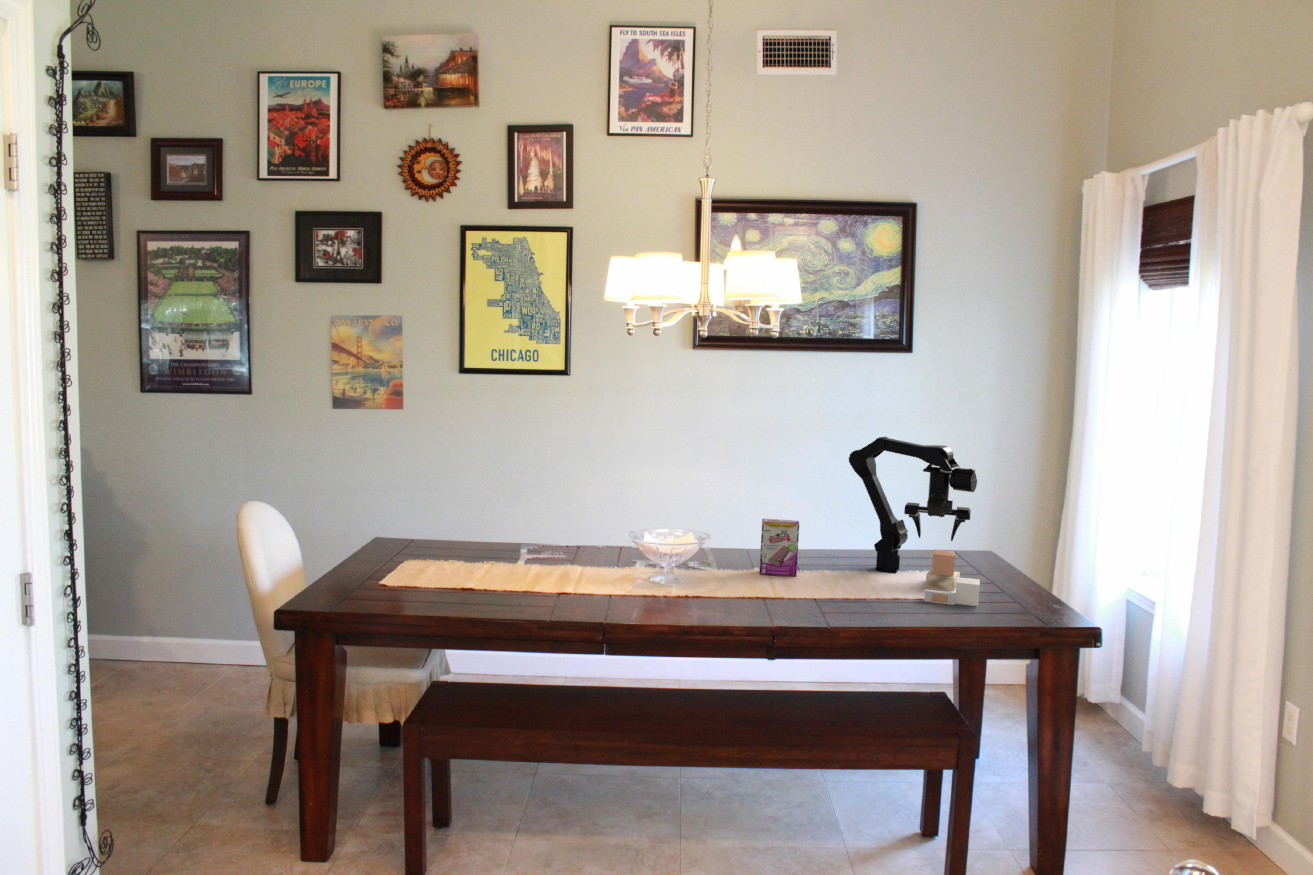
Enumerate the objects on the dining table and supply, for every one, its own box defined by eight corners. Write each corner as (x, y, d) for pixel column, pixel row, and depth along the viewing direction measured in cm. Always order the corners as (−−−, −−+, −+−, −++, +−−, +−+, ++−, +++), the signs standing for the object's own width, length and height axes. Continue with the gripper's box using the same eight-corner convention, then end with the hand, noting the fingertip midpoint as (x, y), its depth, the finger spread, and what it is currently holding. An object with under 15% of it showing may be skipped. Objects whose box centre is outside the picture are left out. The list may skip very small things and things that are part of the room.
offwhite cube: (954, 603, 247) (956, 582, 247) (955, 597, 253) (956, 577, 252) (978, 606, 245) (979, 584, 245) (978, 600, 251) (979, 579, 250)
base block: (925, 587, 264) (926, 573, 264) (931, 581, 271) (932, 568, 270) (953, 591, 260) (954, 578, 260) (959, 585, 267) (960, 572, 267)
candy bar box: (759, 575, 271) (761, 521, 269) (759, 570, 276) (761, 518, 274) (797, 577, 270) (799, 523, 268) (796, 572, 275) (798, 519, 273)
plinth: (924, 601, 248) (924, 590, 248) (924, 599, 250) (925, 589, 249) (954, 605, 245) (955, 594, 245) (954, 603, 247) (955, 592, 247)
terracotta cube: (931, 574, 263) (933, 553, 263) (932, 569, 269) (933, 549, 268) (953, 576, 261) (954, 556, 261) (953, 571, 267) (955, 551, 266)
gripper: (904, 489, 265) (901, 541, 267) (971, 495, 259) (967, 548, 261) (907, 483, 276) (904, 534, 278) (972, 489, 269) (968, 540, 271)
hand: (935, 539), depth 272 cm, fingers open, 9 cm apart
